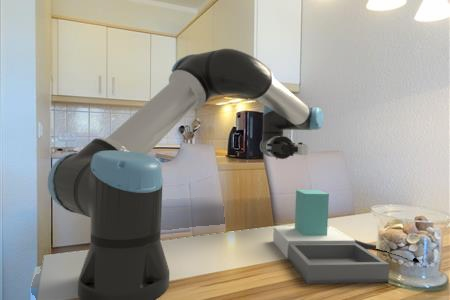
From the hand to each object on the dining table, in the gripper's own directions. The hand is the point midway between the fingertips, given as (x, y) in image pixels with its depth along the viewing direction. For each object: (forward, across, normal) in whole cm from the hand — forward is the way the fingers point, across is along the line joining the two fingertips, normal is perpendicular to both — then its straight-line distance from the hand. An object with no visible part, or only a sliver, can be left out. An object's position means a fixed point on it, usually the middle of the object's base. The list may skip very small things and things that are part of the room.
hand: (304, 150), depth 85 cm
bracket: (+8, -17, -25) cm, 31 cm away
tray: (+20, 0, -24) cm, 31 cm away
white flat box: (+8, 0, -24) cm, 25 cm away
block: (+7, 0, -20) cm, 21 cm away
